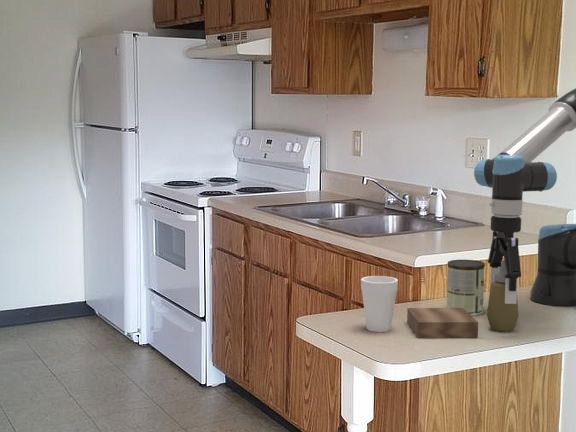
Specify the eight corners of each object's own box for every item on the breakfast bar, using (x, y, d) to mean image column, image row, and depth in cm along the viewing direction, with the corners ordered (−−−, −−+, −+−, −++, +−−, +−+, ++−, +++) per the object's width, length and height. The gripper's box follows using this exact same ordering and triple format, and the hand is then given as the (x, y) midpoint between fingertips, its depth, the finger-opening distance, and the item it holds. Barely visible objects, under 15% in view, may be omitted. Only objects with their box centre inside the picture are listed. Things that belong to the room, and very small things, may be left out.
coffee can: (444, 306, 231) (445, 259, 230) (480, 307, 230) (482, 259, 229) (448, 315, 221) (449, 265, 219) (485, 316, 220) (487, 266, 218)
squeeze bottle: (490, 323, 212) (492, 257, 210) (521, 327, 209) (523, 259, 206) (482, 330, 205) (484, 261, 203) (514, 334, 202) (517, 264, 199)
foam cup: (395, 334, 202) (396, 284, 200) (359, 332, 203) (359, 282, 202) (397, 325, 211) (398, 276, 209) (362, 323, 213) (363, 275, 211)
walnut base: (462, 322, 214) (463, 307, 213) (477, 337, 199) (478, 322, 198) (407, 322, 213) (407, 308, 213) (417, 338, 198) (418, 322, 198)
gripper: (478, 210, 216) (475, 287, 218) (506, 221, 191) (502, 308, 193) (506, 210, 216) (502, 287, 218) (537, 221, 191) (532, 308, 194)
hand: (502, 297), depth 206 cm, fingers open, 13 cm apart
